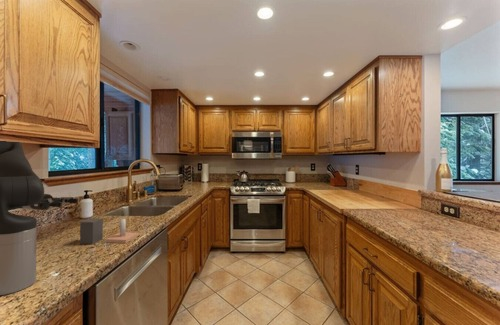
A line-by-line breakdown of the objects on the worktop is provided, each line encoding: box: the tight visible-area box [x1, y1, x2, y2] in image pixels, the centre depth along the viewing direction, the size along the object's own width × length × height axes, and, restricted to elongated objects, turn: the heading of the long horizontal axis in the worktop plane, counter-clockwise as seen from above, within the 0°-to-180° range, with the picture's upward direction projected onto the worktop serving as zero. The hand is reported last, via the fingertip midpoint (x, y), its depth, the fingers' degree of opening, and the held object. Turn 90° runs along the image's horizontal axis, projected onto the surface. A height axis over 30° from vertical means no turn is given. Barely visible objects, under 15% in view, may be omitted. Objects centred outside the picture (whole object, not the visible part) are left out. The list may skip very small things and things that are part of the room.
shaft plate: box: [104, 218, 139, 244], centre depth 104 cm, size 10×10×10 cm
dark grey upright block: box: [79, 218, 104, 245], centre depth 100 cm, size 6×6×10 cm
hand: (69, 202), depth 100 cm, fingers open, 8 cm apart
